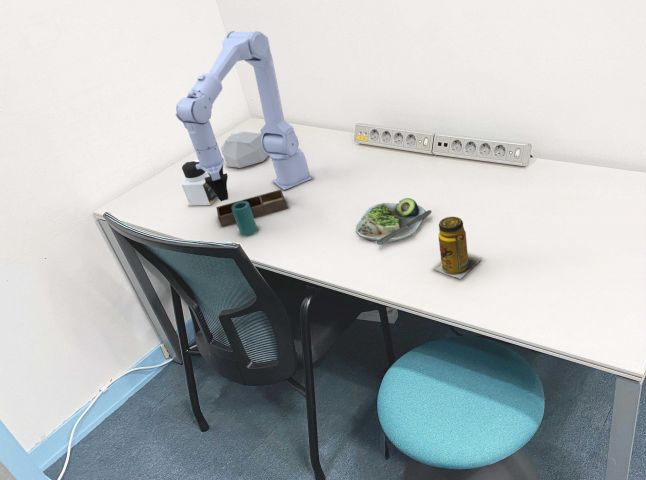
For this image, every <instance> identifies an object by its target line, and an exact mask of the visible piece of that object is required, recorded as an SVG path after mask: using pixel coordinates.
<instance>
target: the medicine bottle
mask: <svg viewBox="0 0 646 480" xmlns="http://www.w3.org/2000/svg"><path fill="white" fill-rule="evenodd" d="M196 164H199V160H198V159H192V160H189V161H186V162H185V163H183V164H182V165H181V170H182V172H183V175H184V178H185V180H184V181H183V182H182V183H181V187H182V190H183V192H184V196H185V198H186V201H187V203H188V205H189V206H190V207H191V206H192V207H193V206H212V204H213V203H214V202H215V201H216V200H217V199H218V197H217V195H216V193H215V192H214V190H213V189H212V188H211V187H210V186H209V185H208V184H207V183H206V182H205V178H206V177H209V174H208V173H207V172H206V171H204V170H202V169H197V168H196Z"/></svg>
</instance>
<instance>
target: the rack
mask: <svg viewBox="0 0 646 480" xmlns="http://www.w3.org/2000/svg"><path fill="white" fill-rule="evenodd" d="M282 190H283V189H277V190H274V191H273V190H272V191H270V192H266V193H262V194H259V195H256V196H252V197H247V198H245V199H240V200H237V201H233V202H229V203H226V204H223V205H219V206H216V207H215V208H216V213H217V218H218V222H219V224H220V227H222V228H223V227H226V226H229V225H230V226H231V225H233V224H237V222H236V220H235V217H234V214H233V211H232V206H233V205H234V204H235V203H237V202H241V201H246V202H248V203H249V205H250V208H251V211H252V214H253V217H254V219H255V218H258V217H262V216H265V215H269V214H273V213H276V212H280V211H284V210H286V209H288V205H287V202H286V198H285V195H284V192H283V191H282Z"/></svg>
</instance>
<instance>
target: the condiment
mask: <svg viewBox="0 0 646 480" xmlns="http://www.w3.org/2000/svg"><path fill="white" fill-rule="evenodd" d="M464 227H465V226H464V221H463V220H462V218H460V217H457V216H447V217H444V218H442V219H441V220H440V221H439V223H438V234H437V235H438V245H439V252H440V262H441V264H440V265H438V266H437V267H436V268H434V270H433V271H437V272H438V273H442V274H445V275H447V276H450V277H453V278H456V279H459V280H462V278H464V277H465V276H466V275H467V274H469V272H470V271H471V270H472V269H473V268H474V267H475V266H477V265H478V263H479V262H480V261H482V258H478V257H475V256H472V255H469V254H468V243H467V242H468V241H467V232H466V230H465V228H464Z"/></svg>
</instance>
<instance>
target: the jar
mask: <svg viewBox="0 0 646 480" xmlns="http://www.w3.org/2000/svg"><path fill="white" fill-rule="evenodd" d="M236 202H237V201H236ZM232 211H233V214H234V217H235V220H236V222H237V223H236V225H237V228H238V230H239V234H240V235H241V236H243V237H249V236H253V235H254V234H256V233H257V231H258V227H257V223H256V219H255V218H254V217H253V214H252V211H251V208H250V205H249V203H248V202H246V201H241V202H237V203H235V204H234V205H233V206H232Z"/></svg>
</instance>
